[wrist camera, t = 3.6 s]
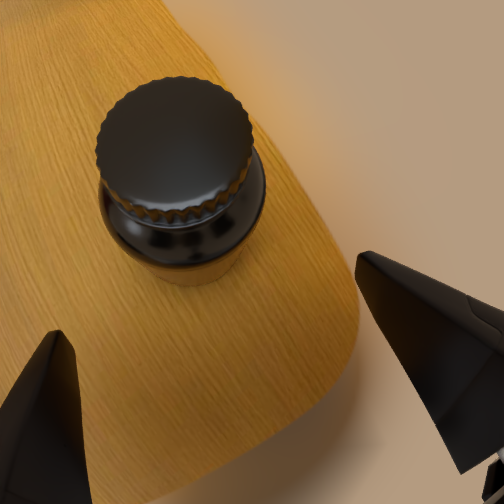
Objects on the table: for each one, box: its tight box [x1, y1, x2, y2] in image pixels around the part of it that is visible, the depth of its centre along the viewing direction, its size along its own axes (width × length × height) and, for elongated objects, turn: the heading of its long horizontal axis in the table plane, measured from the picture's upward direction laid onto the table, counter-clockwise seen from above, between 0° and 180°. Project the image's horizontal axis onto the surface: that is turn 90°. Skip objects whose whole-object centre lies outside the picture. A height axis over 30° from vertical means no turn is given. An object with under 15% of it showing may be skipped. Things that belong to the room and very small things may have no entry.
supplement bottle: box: [95, 76, 266, 286], centre depth 14 cm, size 7×7×12 cm
